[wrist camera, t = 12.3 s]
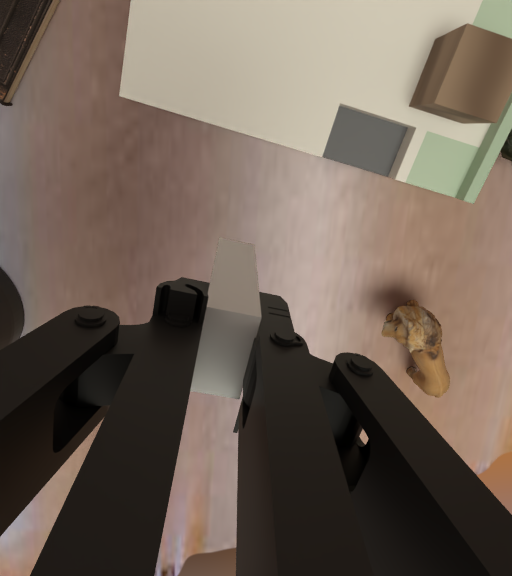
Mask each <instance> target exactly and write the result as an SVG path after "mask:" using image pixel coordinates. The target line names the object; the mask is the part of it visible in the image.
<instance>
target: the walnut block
mask: <svg viewBox="0 0 512 576" xmlns="http://www.w3.org/2000/svg"><path fill="white" fill-rule="evenodd" d="M511 92H512V39H511V38H508V37H506V36H503V35H500V34H497V33H494V32H491V31H488V30H485V29H483V28H480V27H477V26H474V25H471V24H468V23H467V24H465V25H463V26H461V27H459V28H457V29H455V30H453V31H451V32H449V33H447V34H445V35H443V36H440V37H438V38H436V39H435V41H434V43H433V46H432V48H431V51H430V54H429V56H428V59H427V61H426V64H425V66H424V69H423V71H422V74H421V76H420V79H419V82H418V84H417V87H416V89H415V92H414V94H413V97H412V99H411V102H410V105H409V107H412V108H415V109H418V110H421V111H424V112H427V113H431V114H434V115H437V116H440V117H443V118H446V119H449V120H453V121H456V122H459V123H462V124H475V123H497V121H498V119H499V117H500V115H501V113H502V111H503V109H504V107H505V105H506V103H507V101H508V99H509V96H510V94H511Z"/></svg>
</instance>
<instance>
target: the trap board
mask: <svg viewBox="0 0 512 576" xmlns="http://www.w3.org/2000/svg"><path fill="white" fill-rule="evenodd" d="M467 23H468V24H471V25H474V26H477V27H480V28H483V29H485V30H488V31H491V32H494V33H497V34H500V35H503V36H506V37H508V38H511V39H512V0H131V4H130V12H129V20H128V28H127V36H126V45H125V53H124V61H123V69H122V77H121V85H120V94H119V96H121V97H124V98H127V99H131V100H134V101H137V102H140V103H144V104H147V105H150V106H154V107H157V108H160V109H164V110H167V111H170V112H174V113H177V114H180V115H183V116H187V117H190V118H193V119H197V120H200V121H203V122H207V123H210V124H213V125H216V126H220V127H223V128H226V129H230V130H233V131H236V132H240V133H243V134H246V135H250V136H253V137H256V138H259V139H263V140H266V141H269V142H273V143H276V144H279V145H283V146H286V147H289V148H293V149H296V150H299V151H302V152H306V153H309V154H312V155H316V156H319V157H324V158H328V159H331V160H334V161H338V162H341V163H344V164H347V165H351V166H354V167H357V168H361V169H364V170H367V171H371V172H374V173H377V174H380V175H384V176H387V177H390V178H392V179H395V180H398V181H402V182H405V183H408V184H412V185H415V186H418V187H422V188H425V189H428V190H431V191H435V192H438V193H441V194H445V195H448V196H451V197H455V198H457V199H460V200H463V201H466V202H470V203H473V204H474V202H475V200H476V198H477V196H478V194H479V192H480V190H481V188H482V186H483V184H484V182H485V180H486V178H487V176H488V174H489V172H490V170H491V168H492V166H493V164H494V162H495V160H496V158H497V156H498V154H499V152H500V150H501V148H502V146H503V145H504V143H505V141H506V139H507V137H508V135H509V133H510V131H511V129H512V92H511V94H510V96H509V99H508V101H507V103H506V105H505V107H504V109H503V111H502V113H501V115H500V117H499V119H498V121H497V123H475V124H462V123H459V122H456V121H453V120H449V119H446V118H443V117H440V116H437V115H434V114H431V113H427V112H424V111H421V110H418V109H415V108H412V107H409V105H410V102H411V99H412V97H413V94H414V92H415V89H416V87H417V84H418V82H419V79H420V76H421V74H422V71H423V69H424V66H425V64H426V61H427V59H428V56H429V54H430V51H431V48H432V46H433V43H434V41H435V39H436V38H438V37H440V36H443V35H445V34H447V33H449V32H451V31H453V30H455V29H457V28H459V27H461V26H463V25H465V24H467Z"/></svg>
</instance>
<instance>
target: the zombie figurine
mask: <svg viewBox="0 0 512 576" xmlns="http://www.w3.org/2000/svg"><path fill="white" fill-rule="evenodd" d="M501 153H502V157H503V158H506V159H509V160H511V161H512V129H511V131H510V133H509V135H508V137H507V139H506V141H505V143H504V145H503V146H502V148H501Z"/></svg>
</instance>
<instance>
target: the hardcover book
mask: <svg viewBox="0 0 512 576" xmlns="http://www.w3.org/2000/svg"><path fill="white" fill-rule="evenodd" d="M59 1H60V0H0V103H1V104H2V105H5V106H12V105H13V104H12V103H10V101H11V99H12V97H13V95H14V93H15V91H16V89H17V87H18V85H19V83H20V81H21V78H22V76H23V74H24V72H25V70H26V68H27V66H28V64H29V62H30V60H31V58H32V56H33V54H34V52H35V50H36V48H37V46H38V44H39V42H40V40H41V38H42V36H43V34H44V32H45V30H46V27H47V25H48V23H49V21H50V19H51V17H52V15H53V13H54V11H55V9H56V7H57V5H58V3H59Z"/></svg>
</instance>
